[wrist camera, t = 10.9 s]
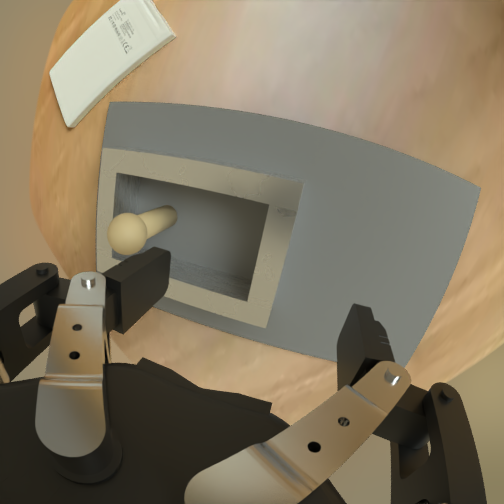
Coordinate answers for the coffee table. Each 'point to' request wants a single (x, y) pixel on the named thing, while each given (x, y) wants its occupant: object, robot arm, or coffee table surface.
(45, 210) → the coffee table surface
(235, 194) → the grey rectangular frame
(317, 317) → the board
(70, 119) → the external hard drive
